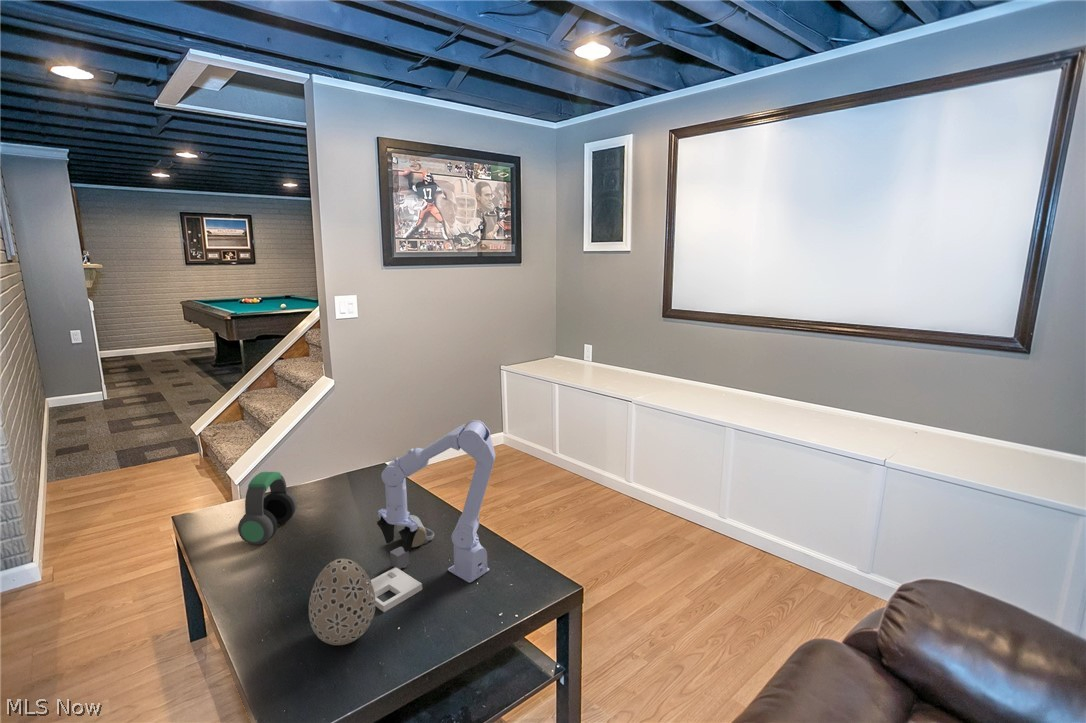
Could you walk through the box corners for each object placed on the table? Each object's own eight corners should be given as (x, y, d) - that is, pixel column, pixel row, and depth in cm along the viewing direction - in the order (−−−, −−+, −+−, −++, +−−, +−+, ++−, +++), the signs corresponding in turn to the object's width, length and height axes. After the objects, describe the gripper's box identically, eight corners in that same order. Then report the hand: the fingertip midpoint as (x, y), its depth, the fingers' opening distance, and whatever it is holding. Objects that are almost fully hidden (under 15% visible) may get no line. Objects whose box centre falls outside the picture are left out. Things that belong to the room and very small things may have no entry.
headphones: (271, 547, 163) (265, 487, 158) (236, 547, 163) (229, 487, 159) (300, 517, 181) (295, 463, 177) (269, 517, 181) (263, 462, 177)
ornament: (356, 608, 135) (350, 537, 131) (389, 634, 126) (385, 559, 122) (300, 640, 124) (292, 564, 120) (332, 671, 115) (325, 590, 111)
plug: (409, 566, 153) (408, 550, 152) (398, 572, 150) (397, 556, 149) (401, 561, 156) (400, 546, 155) (390, 567, 153) (389, 551, 152)
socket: (422, 589, 143) (421, 582, 142) (384, 612, 134) (383, 605, 133) (395, 572, 150) (395, 566, 150) (358, 593, 141) (357, 586, 141)
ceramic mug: (405, 552, 161) (404, 529, 159) (397, 539, 167) (396, 517, 166) (438, 542, 166) (437, 520, 165) (429, 531, 173) (428, 509, 171)
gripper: (425, 504, 148) (426, 547, 151) (390, 490, 156) (392, 532, 159) (405, 514, 142) (408, 559, 145) (371, 499, 150) (373, 542, 153)
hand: (398, 545), depth 152 cm, fingers open, 7 cm apart
